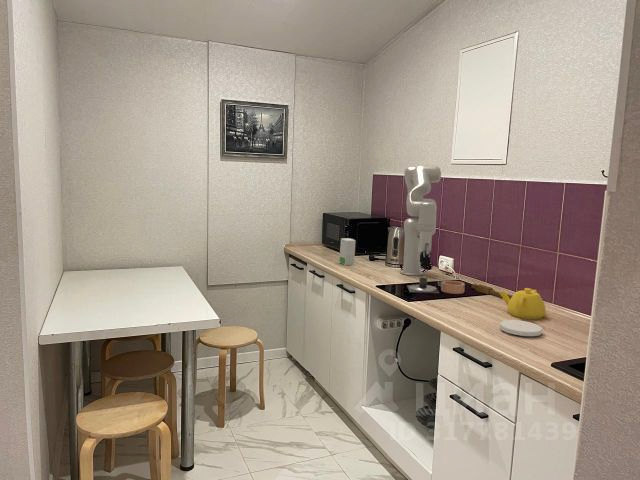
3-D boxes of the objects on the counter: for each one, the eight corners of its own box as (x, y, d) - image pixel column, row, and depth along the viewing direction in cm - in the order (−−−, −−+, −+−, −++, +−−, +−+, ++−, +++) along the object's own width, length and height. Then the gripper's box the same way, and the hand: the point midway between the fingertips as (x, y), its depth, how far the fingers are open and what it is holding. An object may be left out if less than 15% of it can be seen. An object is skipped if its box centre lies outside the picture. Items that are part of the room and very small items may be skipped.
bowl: (439, 289, 235) (440, 280, 234) (461, 290, 234) (461, 281, 234) (443, 294, 225) (444, 284, 224) (465, 295, 224) (466, 285, 223)
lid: (407, 285, 238) (408, 274, 238) (434, 286, 237) (434, 276, 237) (410, 291, 226) (411, 280, 225) (438, 292, 225) (439, 281, 224)
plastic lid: (542, 341, 163) (543, 334, 163) (499, 335, 168) (499, 328, 168) (540, 329, 176) (540, 323, 176) (499, 324, 181) (500, 318, 181)
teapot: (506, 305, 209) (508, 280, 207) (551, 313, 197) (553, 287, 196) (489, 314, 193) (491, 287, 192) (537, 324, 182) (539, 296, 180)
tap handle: (518, 298, 211) (470, 283, 238) (517, 304, 211) (470, 289, 238) (523, 297, 212) (475, 282, 239) (522, 304, 212) (475, 288, 239)
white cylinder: (339, 263, 297) (340, 238, 295) (348, 262, 300) (349, 238, 298) (345, 265, 289) (346, 240, 287) (355, 265, 292) (356, 239, 290)
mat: (406, 286, 239) (406, 285, 239) (435, 287, 238) (435, 286, 238) (409, 293, 225) (409, 291, 225) (439, 294, 224) (439, 293, 224)
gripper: (416, 226, 236) (414, 261, 238) (420, 229, 219) (418, 266, 221) (431, 227, 236) (429, 261, 238) (437, 230, 219) (435, 267, 220)
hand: (424, 264), depth 229 cm, fingers open, 9 cm apart
